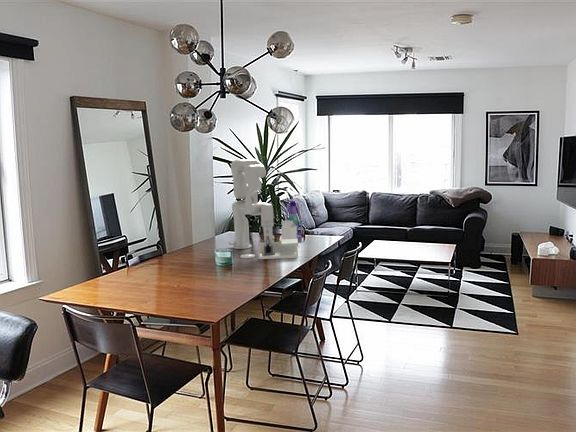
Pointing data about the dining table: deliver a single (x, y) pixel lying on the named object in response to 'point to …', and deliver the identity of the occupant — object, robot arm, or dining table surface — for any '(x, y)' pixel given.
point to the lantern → (294, 217)
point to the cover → (288, 242)
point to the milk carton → (289, 230)
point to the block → (268, 253)
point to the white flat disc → (247, 256)
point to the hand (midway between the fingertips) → (268, 251)
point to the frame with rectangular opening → (278, 251)
